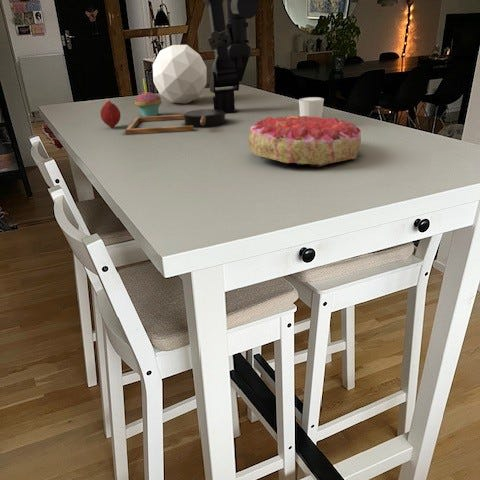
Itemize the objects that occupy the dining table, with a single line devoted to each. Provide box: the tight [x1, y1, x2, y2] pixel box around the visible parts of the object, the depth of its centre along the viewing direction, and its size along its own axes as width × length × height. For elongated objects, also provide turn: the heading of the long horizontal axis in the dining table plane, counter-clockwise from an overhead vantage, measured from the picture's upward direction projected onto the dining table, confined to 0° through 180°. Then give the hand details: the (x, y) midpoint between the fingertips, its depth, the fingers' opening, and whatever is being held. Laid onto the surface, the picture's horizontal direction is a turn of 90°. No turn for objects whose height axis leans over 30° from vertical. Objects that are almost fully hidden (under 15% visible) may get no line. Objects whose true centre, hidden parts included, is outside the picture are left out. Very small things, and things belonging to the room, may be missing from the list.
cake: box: [247, 115, 362, 168], centre depth 115 cm, size 25×25×8 cm
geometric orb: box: [152, 44, 208, 105], centre depth 186 cm, size 19×20×20 cm
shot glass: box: [298, 96, 325, 118], centre depth 142 cm, size 7×7×7 cm
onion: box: [99, 98, 121, 129], centre depth 154 cm, size 6×6×8 cm
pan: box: [183, 108, 226, 128], centre depth 151 cm, size 12×20×3 cm, turn 1°
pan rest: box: [125, 114, 195, 135], centre depth 155 cm, size 19×19×1 cm
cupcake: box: [134, 76, 162, 117], centre depth 167 cm, size 9×8×12 cm
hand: (239, 81), depth 149 cm, fingers closed
